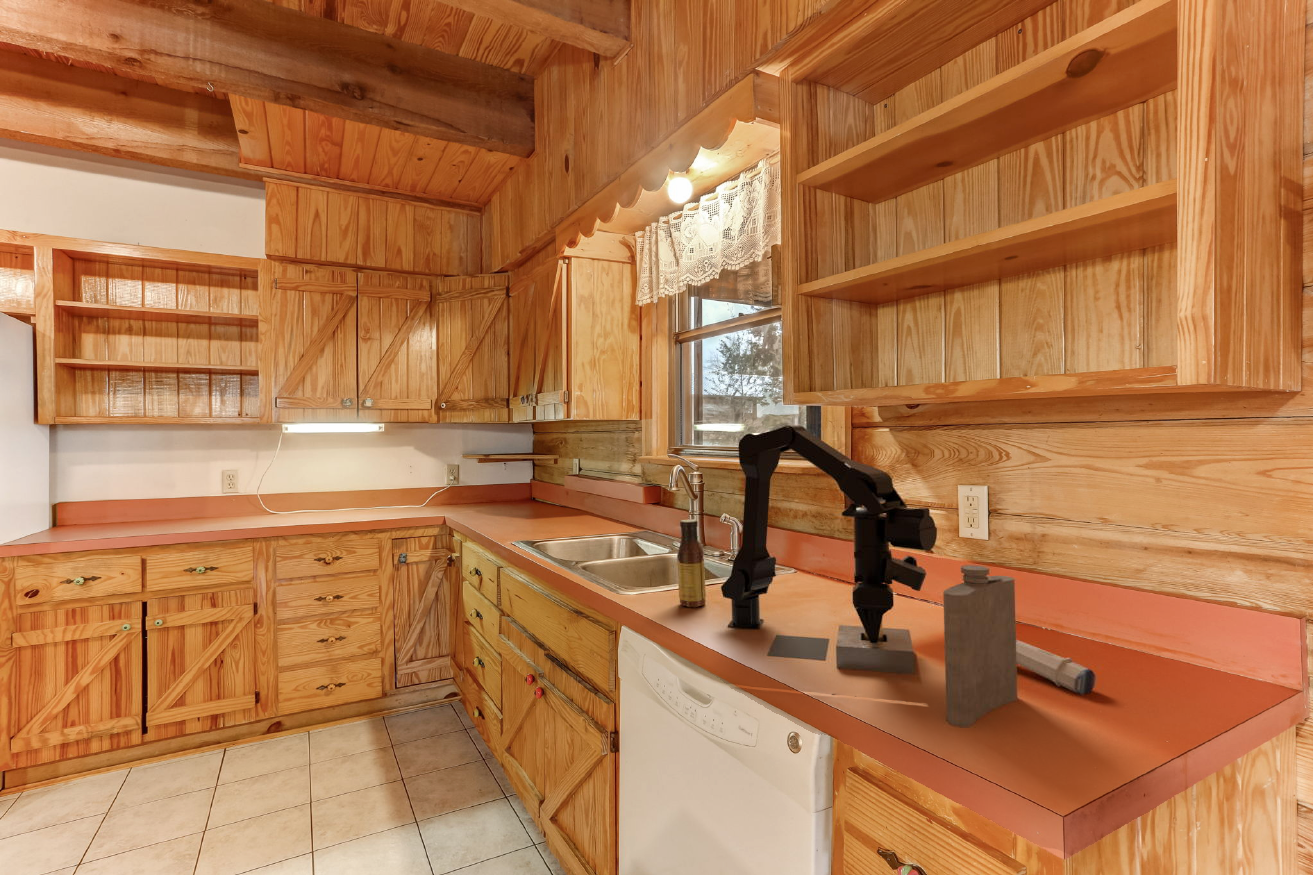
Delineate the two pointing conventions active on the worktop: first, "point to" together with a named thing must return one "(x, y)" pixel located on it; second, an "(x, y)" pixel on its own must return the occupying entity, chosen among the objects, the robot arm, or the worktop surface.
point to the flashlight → (1055, 668)
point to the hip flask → (979, 645)
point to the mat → (799, 647)
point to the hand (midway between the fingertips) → (873, 634)
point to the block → (875, 650)
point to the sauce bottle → (691, 566)
